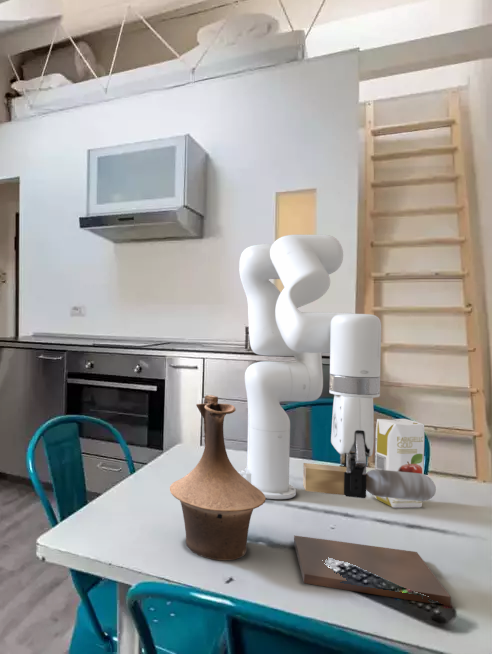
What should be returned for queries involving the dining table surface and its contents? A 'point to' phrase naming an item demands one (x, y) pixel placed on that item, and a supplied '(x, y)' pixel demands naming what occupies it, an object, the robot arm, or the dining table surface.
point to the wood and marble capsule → (369, 482)
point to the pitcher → (216, 494)
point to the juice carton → (399, 452)
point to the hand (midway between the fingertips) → (352, 491)
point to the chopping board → (369, 568)
